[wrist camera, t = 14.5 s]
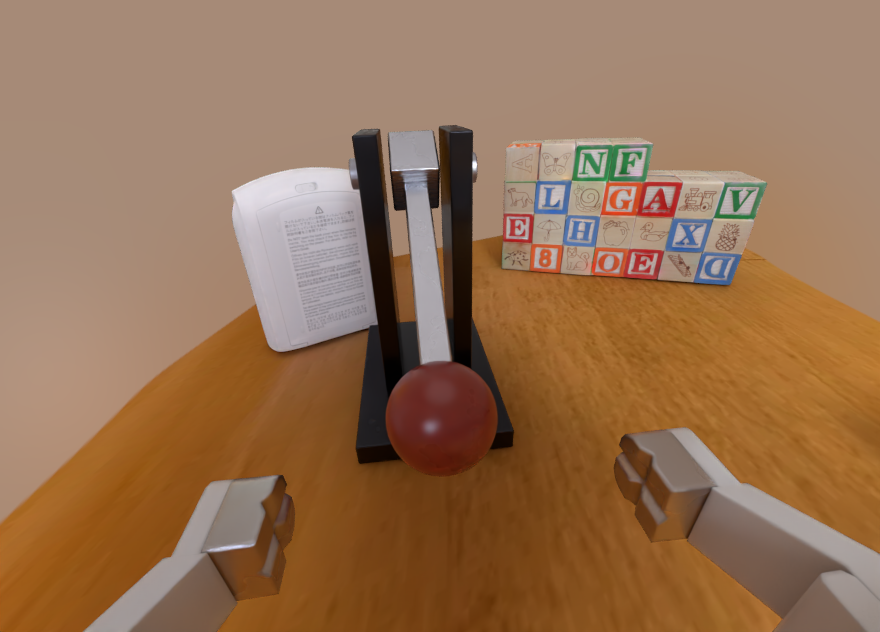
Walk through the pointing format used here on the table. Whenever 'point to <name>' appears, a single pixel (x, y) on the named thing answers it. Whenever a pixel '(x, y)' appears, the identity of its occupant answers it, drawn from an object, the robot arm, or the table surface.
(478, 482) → the table surface
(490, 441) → the lever
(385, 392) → the bracket
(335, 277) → the photo printer
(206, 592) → the robot arm
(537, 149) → the stack of blocks
